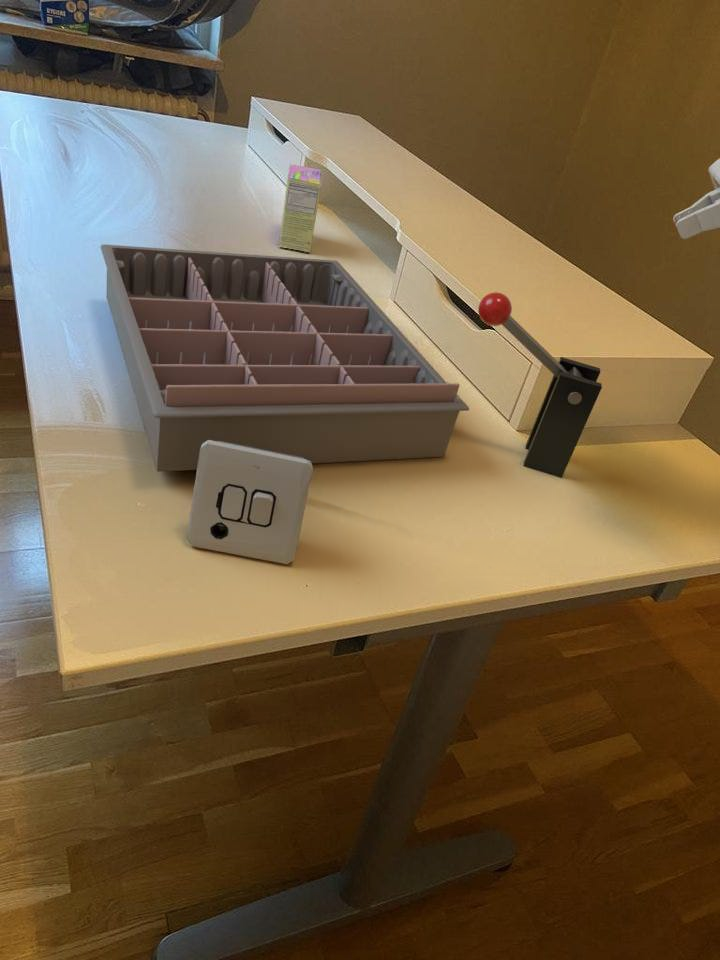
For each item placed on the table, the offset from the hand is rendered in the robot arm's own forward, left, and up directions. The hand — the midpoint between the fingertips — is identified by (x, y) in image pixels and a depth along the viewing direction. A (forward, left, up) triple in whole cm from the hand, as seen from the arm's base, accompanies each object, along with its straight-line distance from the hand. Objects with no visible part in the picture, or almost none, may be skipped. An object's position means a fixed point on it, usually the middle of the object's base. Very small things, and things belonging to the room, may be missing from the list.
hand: (676, 228), depth 69 cm
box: (+50, -53, -29) cm, 78 cm away
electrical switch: (+29, +27, -29) cm, 49 cm away
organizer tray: (+38, -1, -29) cm, 48 cm away
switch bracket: (+3, 0, -29) cm, 29 cm away
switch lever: (+9, 0, -16) cm, 19 cm away
